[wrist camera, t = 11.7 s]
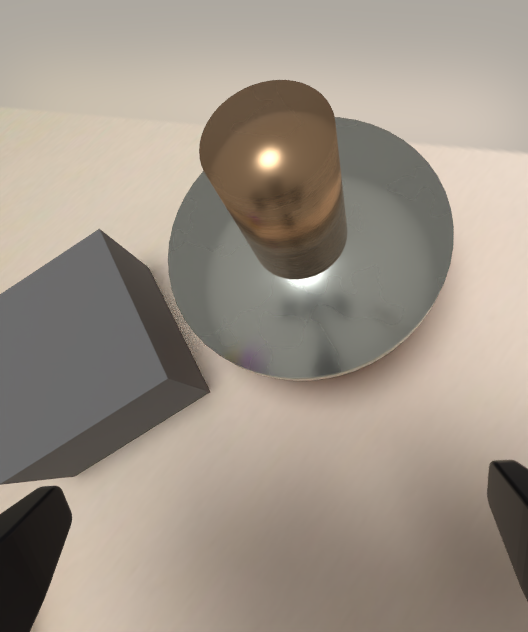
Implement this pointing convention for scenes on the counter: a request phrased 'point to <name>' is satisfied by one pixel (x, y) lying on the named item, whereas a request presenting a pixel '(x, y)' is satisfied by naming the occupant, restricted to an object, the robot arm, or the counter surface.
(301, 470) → the counter surface
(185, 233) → the lid
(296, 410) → the counter surface
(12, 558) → the robot arm
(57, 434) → the block
